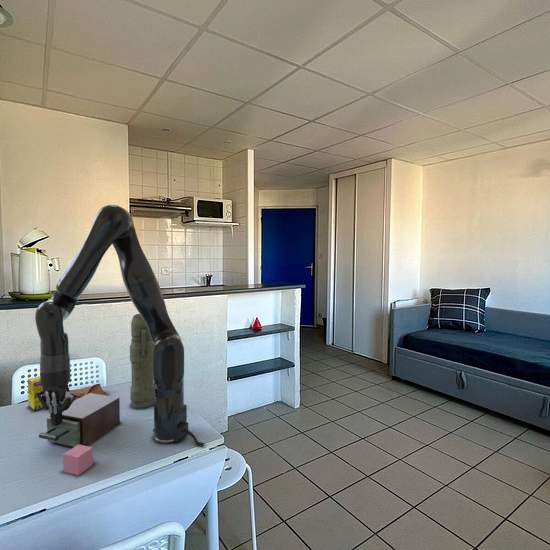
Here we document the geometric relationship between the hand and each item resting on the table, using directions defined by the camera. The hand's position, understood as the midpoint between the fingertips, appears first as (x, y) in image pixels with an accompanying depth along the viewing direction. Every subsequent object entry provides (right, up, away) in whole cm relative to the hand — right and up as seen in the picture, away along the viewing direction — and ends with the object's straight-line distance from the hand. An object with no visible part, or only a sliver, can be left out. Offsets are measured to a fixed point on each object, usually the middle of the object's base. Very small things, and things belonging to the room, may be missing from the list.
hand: (56, 424), depth 104 cm
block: (+11, -9, -8) cm, 16 cm away
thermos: (+14, -6, +32) cm, 35 cm away
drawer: (+2, -6, +6) cm, 9 cm away
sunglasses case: (-12, -5, +34) cm, 37 cm away
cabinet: (+3, -7, +11) cm, 13 cm away
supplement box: (-24, -6, +28) cm, 38 cm away
